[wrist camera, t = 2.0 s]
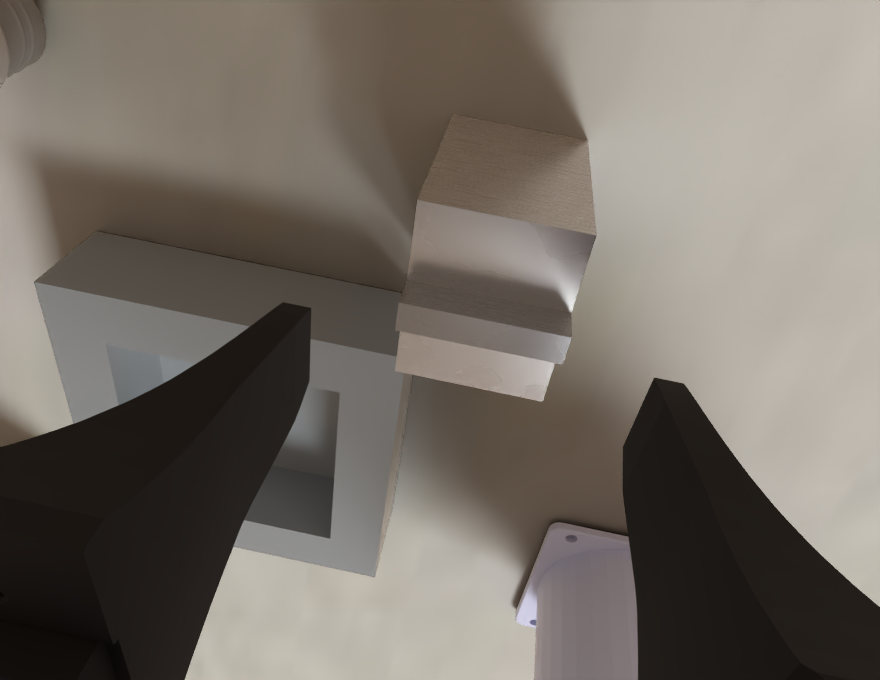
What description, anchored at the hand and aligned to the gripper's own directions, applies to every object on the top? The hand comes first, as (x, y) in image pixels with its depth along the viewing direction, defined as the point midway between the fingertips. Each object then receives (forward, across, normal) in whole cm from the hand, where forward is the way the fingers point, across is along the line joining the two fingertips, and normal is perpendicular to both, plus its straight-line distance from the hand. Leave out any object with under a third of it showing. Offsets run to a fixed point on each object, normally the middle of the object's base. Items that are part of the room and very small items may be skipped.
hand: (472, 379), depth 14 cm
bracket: (+9, 0, 0) cm, 9 cm away
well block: (+9, +8, +10) cm, 15 cm away
